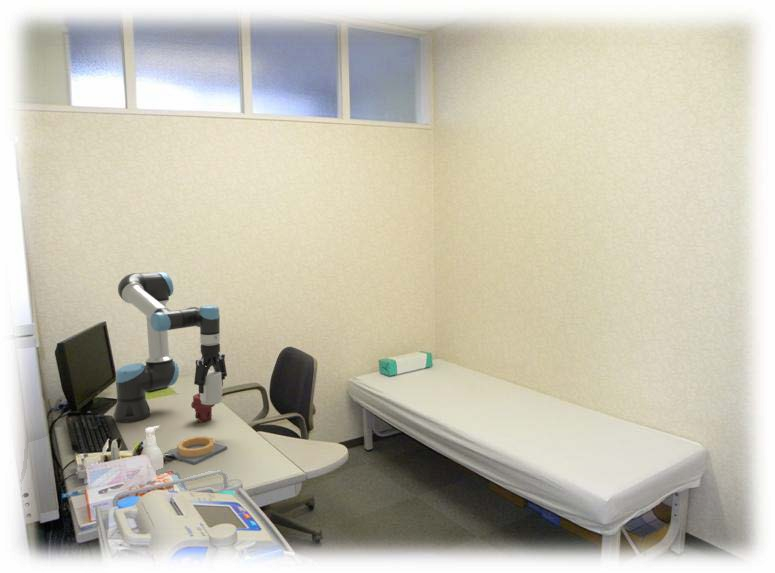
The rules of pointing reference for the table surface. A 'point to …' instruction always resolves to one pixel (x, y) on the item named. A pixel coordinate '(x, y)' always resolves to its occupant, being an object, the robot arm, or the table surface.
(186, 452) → the socket board
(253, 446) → the table surface
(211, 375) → the grey cylinder
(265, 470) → the table surface
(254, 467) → the table surface
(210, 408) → the mechanical component
